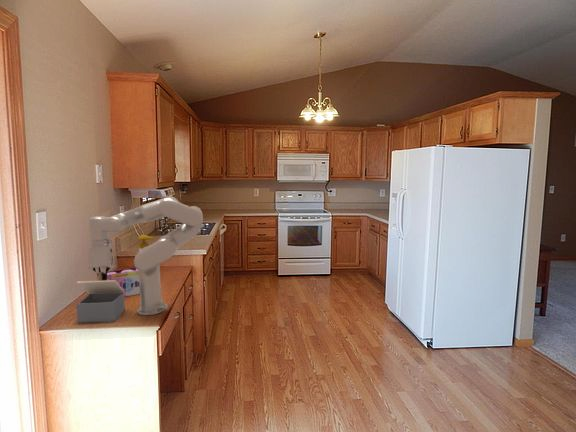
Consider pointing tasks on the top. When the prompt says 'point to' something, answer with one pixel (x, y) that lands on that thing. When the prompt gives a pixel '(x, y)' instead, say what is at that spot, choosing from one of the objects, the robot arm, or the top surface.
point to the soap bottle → (144, 241)
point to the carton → (100, 308)
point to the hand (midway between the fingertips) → (102, 280)
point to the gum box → (126, 280)
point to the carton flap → (101, 286)
